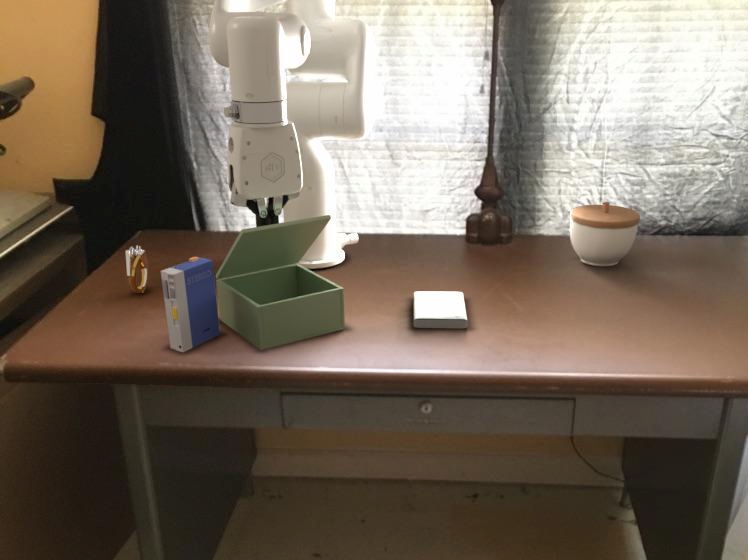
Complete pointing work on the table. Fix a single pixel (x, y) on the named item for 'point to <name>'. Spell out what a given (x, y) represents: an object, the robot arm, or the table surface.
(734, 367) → the table surface
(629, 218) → the lidded bowl
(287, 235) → the chest lid
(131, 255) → the ring
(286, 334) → the chest
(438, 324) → the hard drive
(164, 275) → the walkman
